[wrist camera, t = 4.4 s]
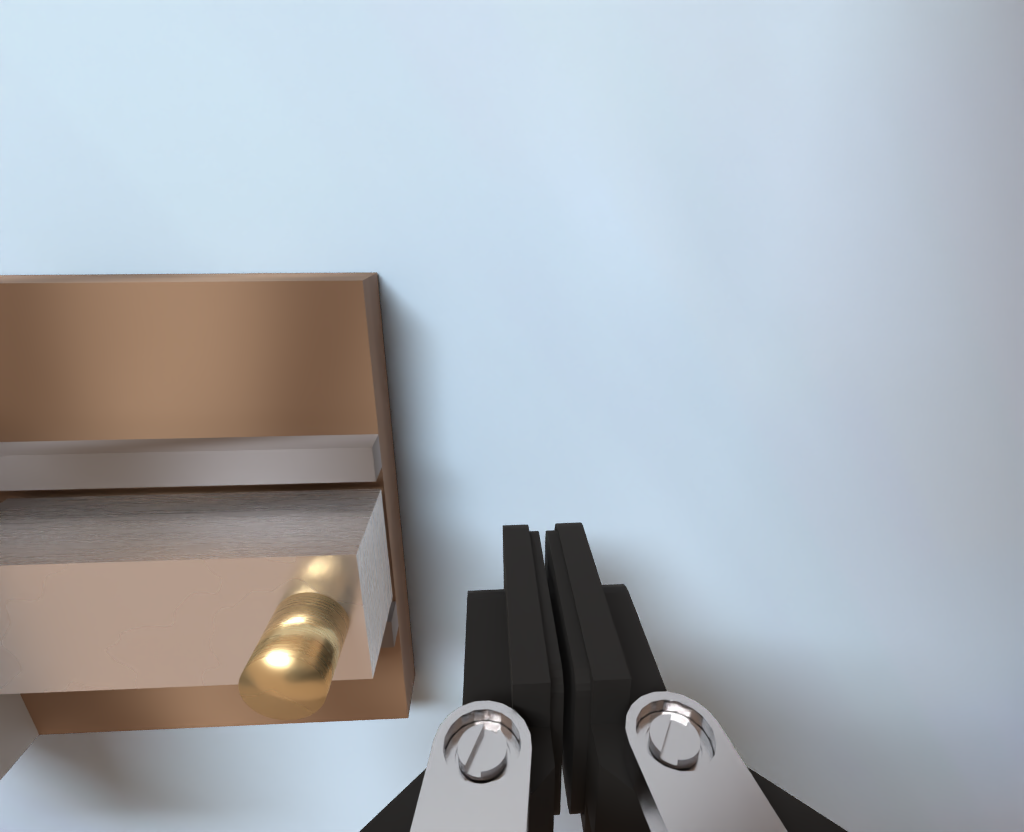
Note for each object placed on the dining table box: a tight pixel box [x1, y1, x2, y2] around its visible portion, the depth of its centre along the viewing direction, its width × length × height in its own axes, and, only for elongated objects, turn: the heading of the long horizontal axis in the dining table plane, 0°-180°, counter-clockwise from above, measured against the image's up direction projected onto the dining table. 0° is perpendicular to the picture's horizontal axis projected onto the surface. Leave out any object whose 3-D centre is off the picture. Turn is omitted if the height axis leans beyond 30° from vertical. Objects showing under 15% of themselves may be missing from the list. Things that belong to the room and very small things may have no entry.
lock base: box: [0, 273, 415, 735], centre depth 12 cm, size 15×12×2 cm
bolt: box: [0, 489, 393, 720], centre depth 10 cm, size 8×3×4 cm, turn 90°
